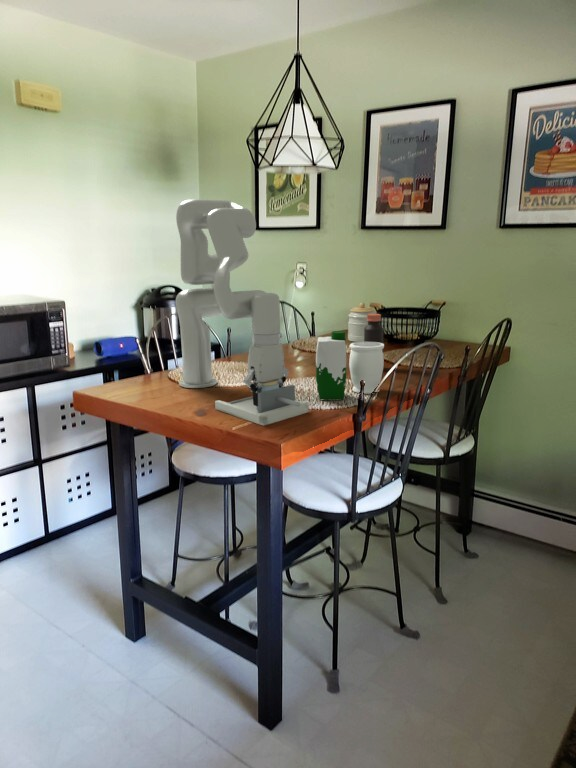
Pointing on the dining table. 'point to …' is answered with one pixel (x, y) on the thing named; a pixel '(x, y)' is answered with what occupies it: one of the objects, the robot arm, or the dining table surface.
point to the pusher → (277, 398)
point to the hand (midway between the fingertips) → (267, 402)
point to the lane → (250, 413)
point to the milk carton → (331, 366)
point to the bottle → (373, 329)
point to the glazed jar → (269, 386)
